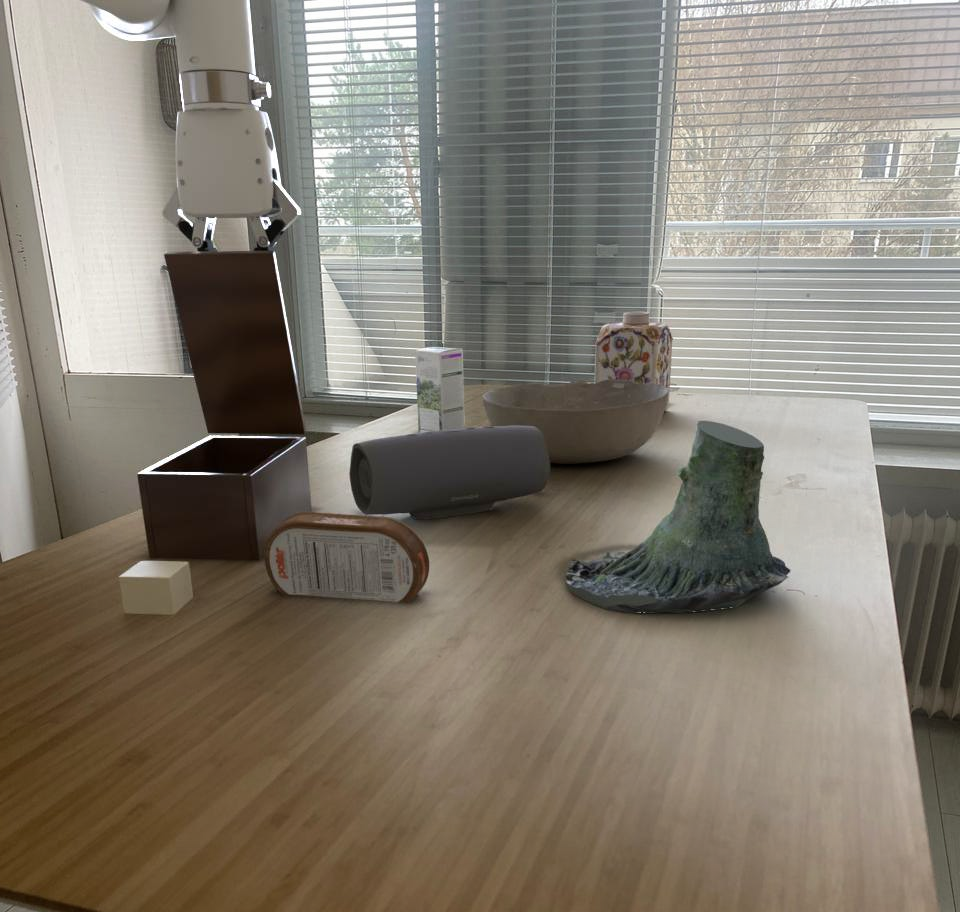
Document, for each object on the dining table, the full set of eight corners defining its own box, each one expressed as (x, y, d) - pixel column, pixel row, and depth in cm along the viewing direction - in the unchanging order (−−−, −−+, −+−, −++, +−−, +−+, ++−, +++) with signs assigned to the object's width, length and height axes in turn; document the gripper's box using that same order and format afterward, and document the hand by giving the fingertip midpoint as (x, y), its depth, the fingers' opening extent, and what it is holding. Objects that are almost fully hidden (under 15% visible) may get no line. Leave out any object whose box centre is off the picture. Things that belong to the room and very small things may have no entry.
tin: (431, 606, 89) (429, 515, 85) (422, 618, 86) (418, 525, 82) (278, 594, 92) (269, 507, 88) (263, 606, 89) (254, 516, 86)
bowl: (687, 446, 154) (691, 381, 150) (628, 483, 131) (632, 408, 127) (529, 433, 165) (529, 372, 162) (450, 465, 143) (448, 396, 139)
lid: (272, 253, 99) (285, 236, 103) (163, 254, 100) (180, 237, 104) (304, 434, 112) (315, 413, 116) (207, 433, 113) (221, 412, 117)
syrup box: (466, 438, 162) (464, 347, 156) (441, 443, 158) (439, 351, 152) (441, 434, 165) (439, 345, 160) (416, 439, 161) (413, 348, 156)
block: (126, 625, 85) (118, 576, 83) (147, 607, 89) (140, 560, 87) (175, 626, 84) (168, 577, 83) (195, 608, 89) (189, 561, 87)
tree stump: (601, 550, 105) (652, 386, 97) (779, 621, 99) (849, 451, 91) (532, 593, 90) (586, 403, 82) (737, 681, 83) (817, 483, 75)
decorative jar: (669, 410, 186) (676, 310, 179) (654, 420, 176) (660, 315, 169) (609, 406, 190) (613, 309, 183) (590, 416, 180) (594, 314, 173)
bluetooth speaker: (516, 493, 127) (517, 415, 123) (551, 509, 119) (553, 427, 115) (350, 514, 118) (344, 431, 114) (376, 534, 110) (371, 445, 106)
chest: (260, 571, 98) (250, 475, 95) (150, 568, 100) (136, 473, 96) (312, 519, 116) (306, 436, 113) (218, 517, 118) (209, 435, 114)
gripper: (312, 99, 101) (324, 285, 108) (155, 103, 103) (177, 286, 110) (290, 89, 94) (305, 288, 101) (123, 94, 96) (149, 289, 103)
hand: (238, 285), depth 106 cm, fingers closed on lid, 5 cm apart
